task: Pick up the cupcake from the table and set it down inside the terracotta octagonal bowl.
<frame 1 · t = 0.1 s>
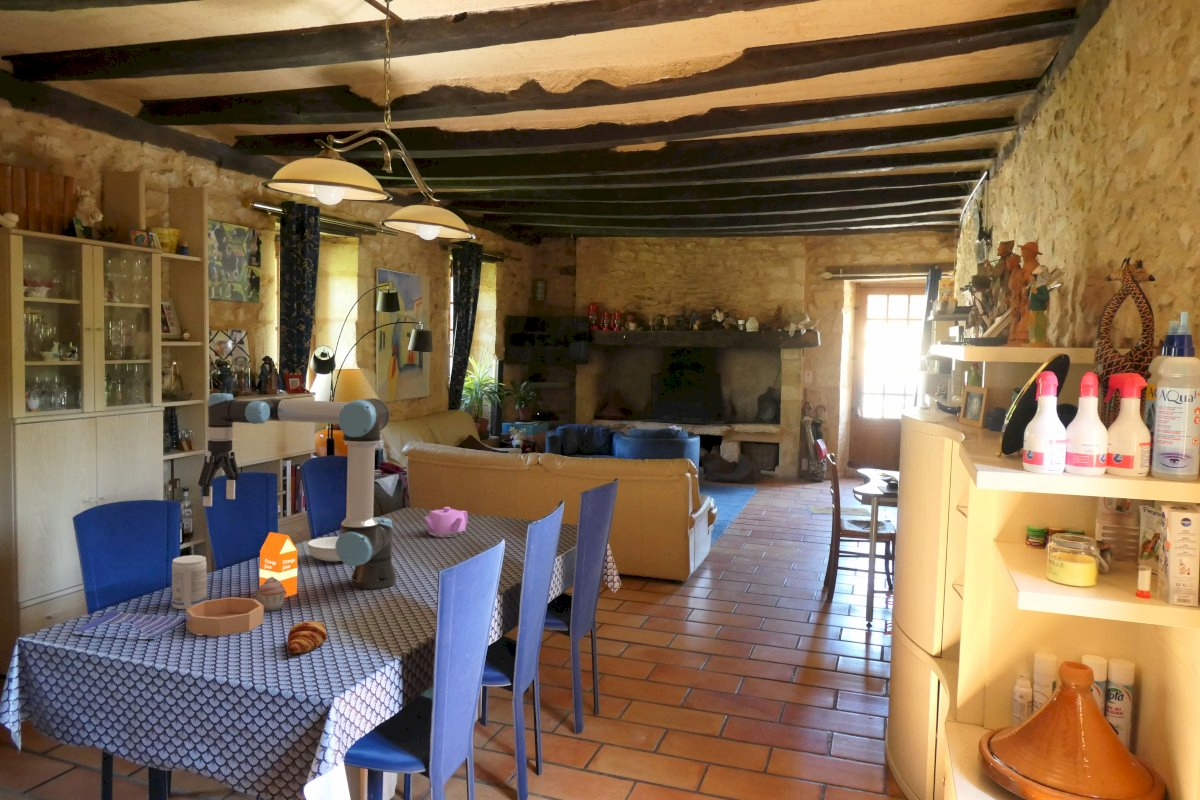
hand: (219, 502, 273), 28 cm above the table, fingers open, 13 cm apart
bowl: (225, 624, 236), on the table
serving bowl: (335, 559, 313), on the table
orange juice: (278, 594, 266), on the table
croissant: (308, 645, 223), on the table
dish towel: (132, 630, 230), on the table
teakettle: (445, 535, 362), on the table
supplement tub: (189, 606, 251), on the table
cupcake: (271, 608, 252), on the table
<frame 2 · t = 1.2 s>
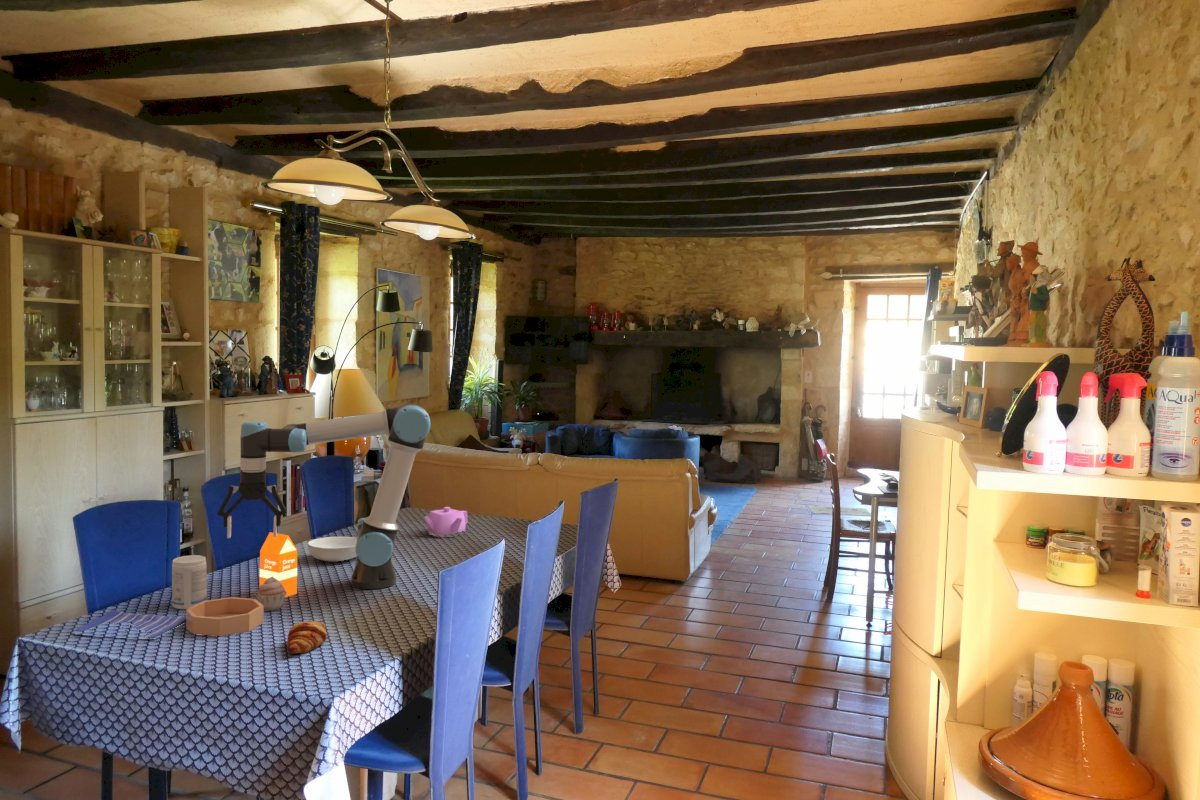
hand: (252, 536, 259), 20 cm above the table, fingers open, 13 cm apart
nothing on the table moved.
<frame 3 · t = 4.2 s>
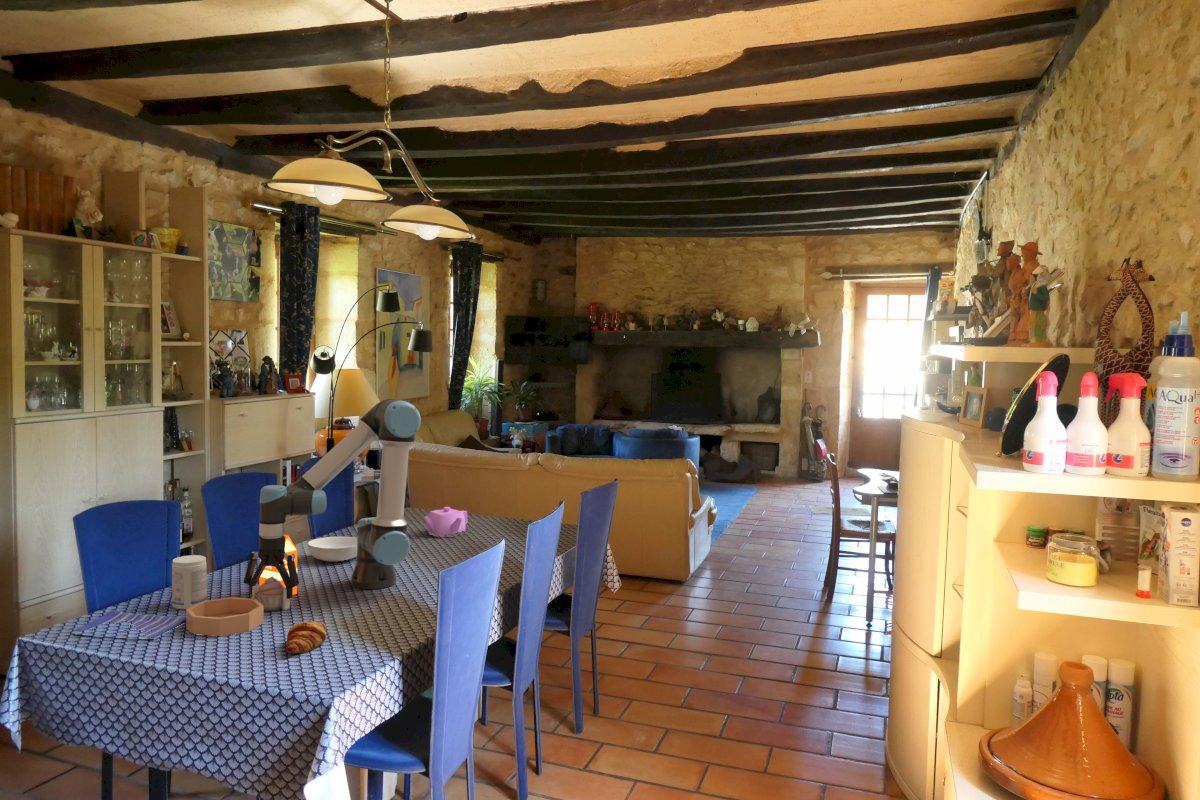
hand: (270, 607, 252), 0 cm above the table, fingers closed on cupcake, 9 cm apart
cupcake: (271, 608, 252), on the table, touching gripper
everything else where it was.
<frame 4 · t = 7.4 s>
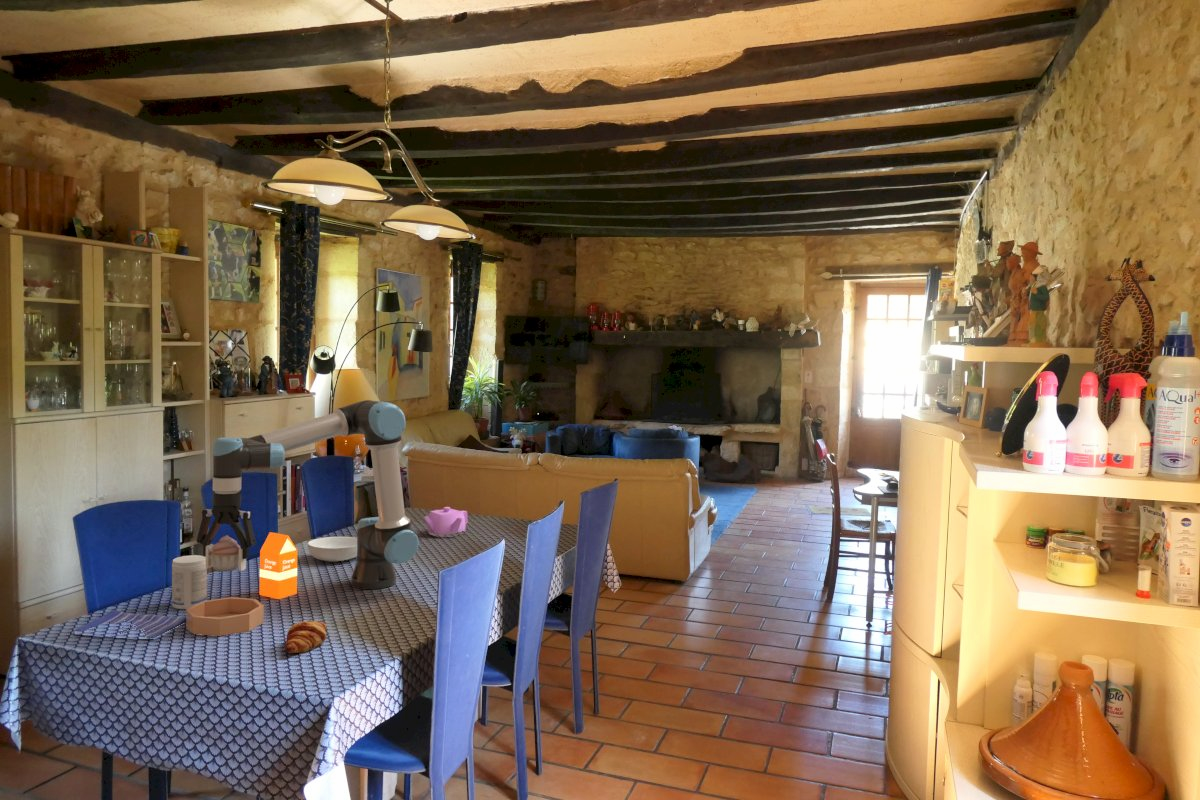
hand: (225, 568, 235), 16 cm above the table, fingers closed on cupcake, 9 cm apart
cupcake: (225, 569, 235), point 16 cm above the table, touching gripper
everything else where it was.
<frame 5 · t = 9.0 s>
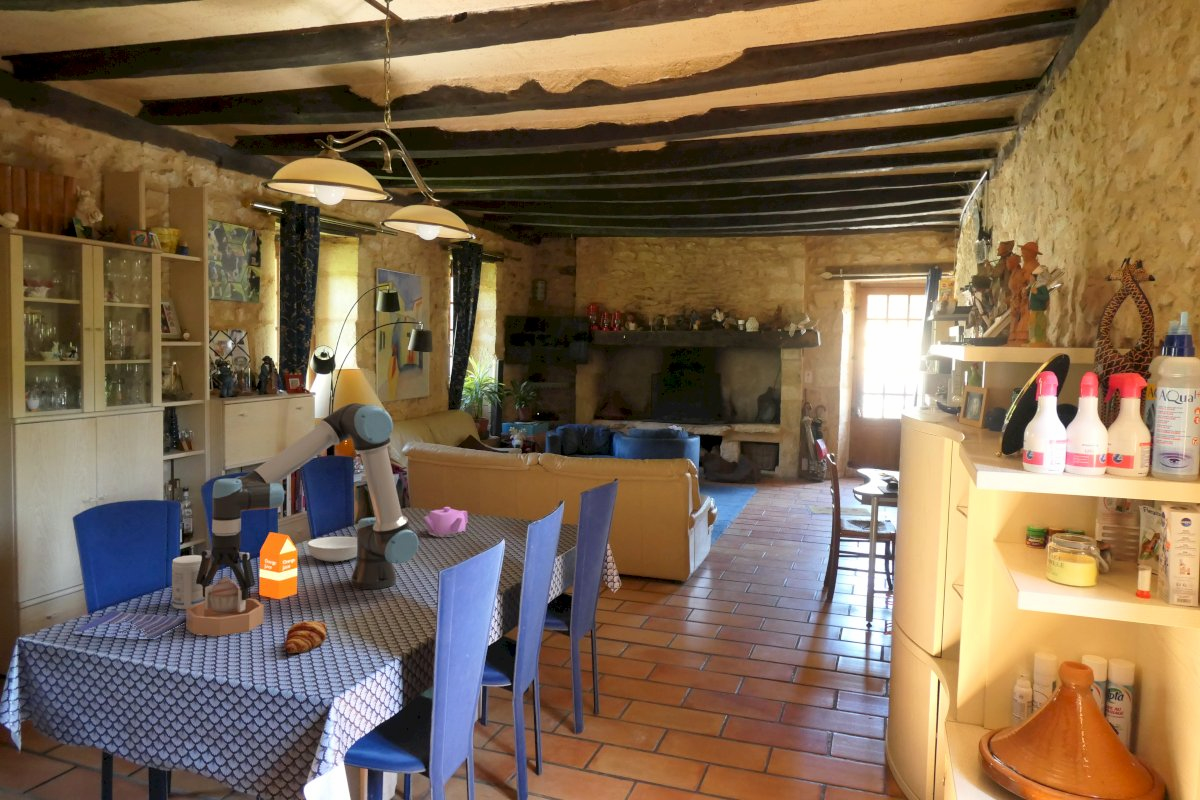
hand: (225, 609, 235), 4 cm above the table, fingers closed on cupcake, 9 cm apart
cupcake: (225, 610, 235), point 4 cm above the table, touching gripper
everything else where it was.
when the fingers open (3 cm above the table, at t = 10.1 s): cupcake drops 2 cm, resting on bowl.
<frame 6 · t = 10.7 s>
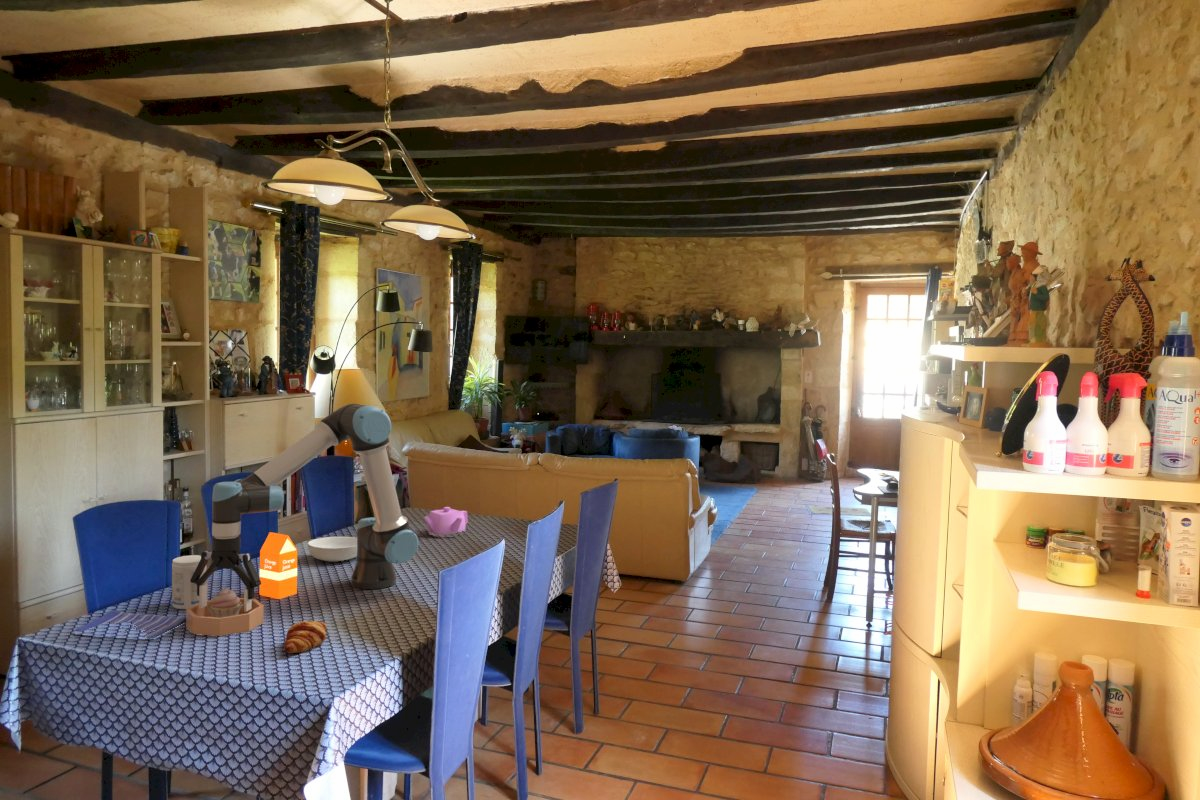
hand: (225, 608, 235), 5 cm above the table, fingers open, 13 cm apart
cupcake: (225, 622, 236), point 1 cm above the table, touching bowl
everything else where it was.
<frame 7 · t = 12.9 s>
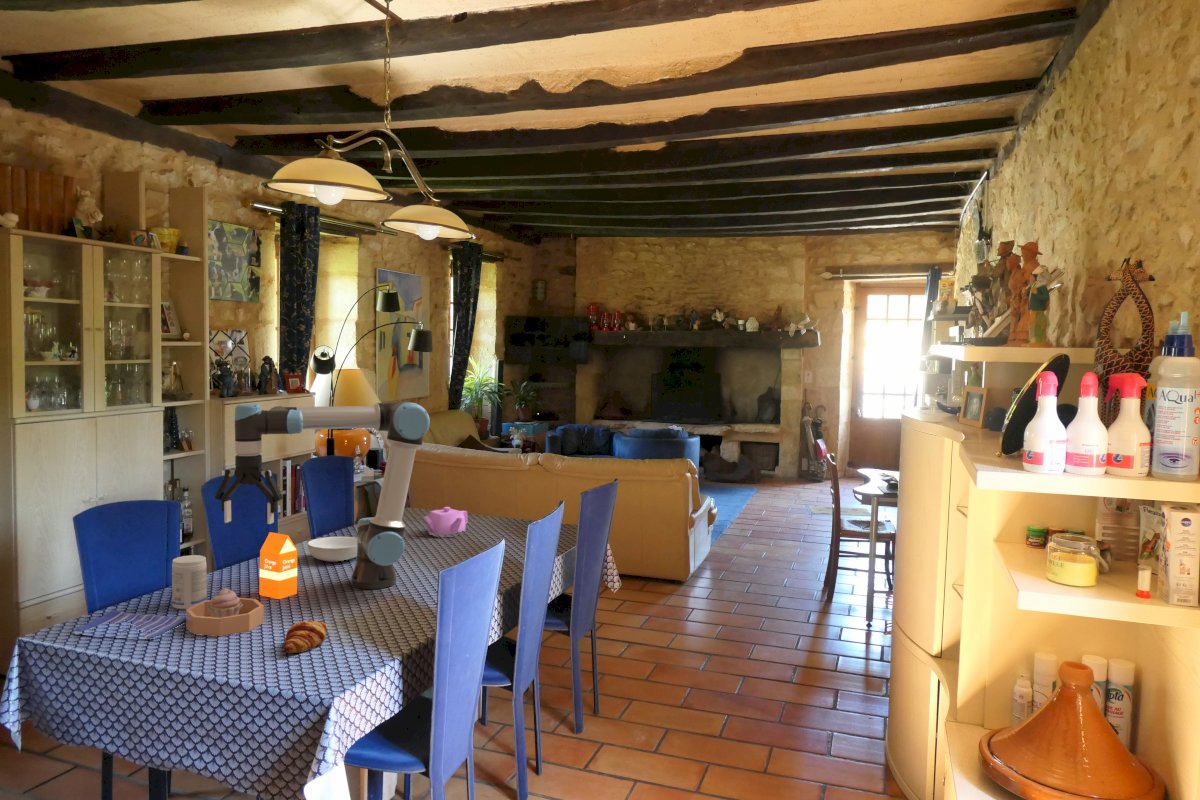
hand: (249, 522, 251), 26 cm above the table, fingers open, 13 cm apart
nothing on the table moved.
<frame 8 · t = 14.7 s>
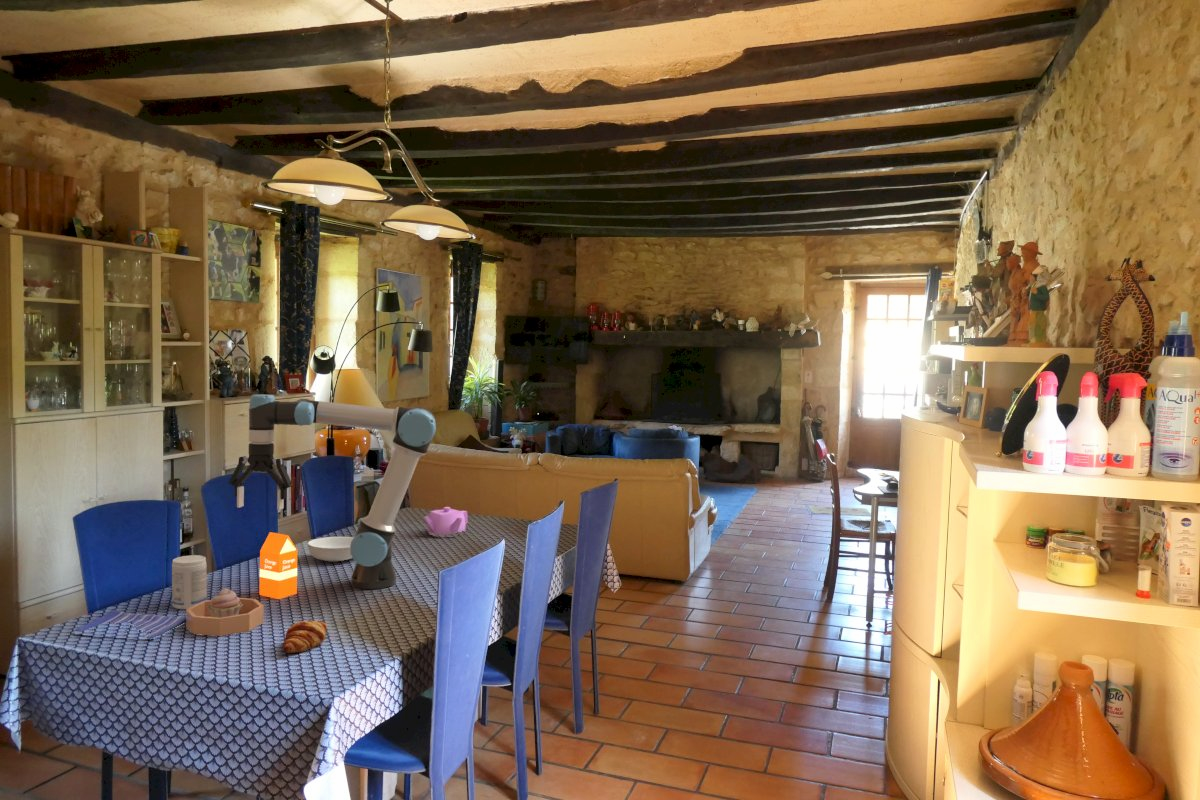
hand: (260, 508, 262), 29 cm above the table, fingers open, 13 cm apart
nothing on the table moved.
at the end: cupcake 0.1 cm from the bowl (horizontally); cupcake point 0.6 cm above the table; cupcake touching bowl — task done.
